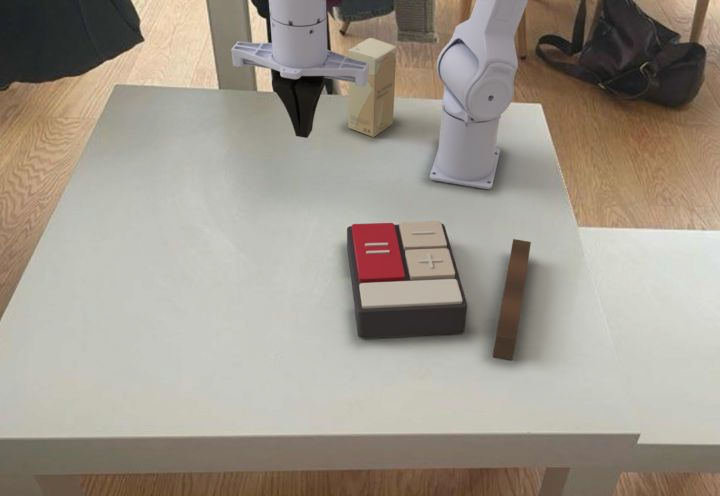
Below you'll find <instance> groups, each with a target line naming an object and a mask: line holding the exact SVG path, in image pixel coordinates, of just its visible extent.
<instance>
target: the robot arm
mask: <svg viewBox="0 0 720 496" xmlns="http://www.w3.org/2000/svg"><path fill="white" fill-rule="evenodd" d="M528 1H529V0H475V2H474V6H473V9H472V12H471V15H470V17H469V19H468V18H467V20H465V21H462V22H461V23H459V24H458V25H456V26H455V28H454V31H453V33H452V37H451V38H450V40H449V41H448V42H447V44H446V45H445V46H444V47H443V48H442V50H441V51H440V52H439V55H438V57H437V60H436V68H435V69H436V73H437V77H438V78H439V80H440V81H441V83H443V84H444V85H443V86H444V87H443V96H442V100H441V101H442V102H441V115H440V124H439V125H440V126H439V139H438V149H437V152H436V154H435V155H436V156H435V158H434V161H433V163H432V167H431V170H430V174H429V179H430V180H431V181H436V182H441V183H448V184H452V185H453V184H454V185H461V186H466V187H473V188H479V189H484V190H491V189H492V188H493V185H494V180H495V175H496V171H497V166H498V162H499V159H500V155H501V154H500V153H501V149H500V148H499V147H497V140H498V134H499V133H498V132H499V125H500V120H501V116H502V114H504V113H505V111H507V109H508V108H509V106H510V105H511V103H512V101H513V99H514V94H515V83H514V82H515V76H516V73H517V70H518V68H519V61H518V55H517V50H516V44H515V35H516V34H517V31H518V27H519V25H520V23H521V20H522V17H523V16H524V15H523V14H524V12H525V10H526V8H527V5H528ZM268 8H269V9H268V10H269V21H270V34H271V42H247V41H246V42H245V41H239V40H238V41H237V42H236V43H235V44H234V45H233V47H231V49H230V51H231V58H232V66H233V67H238V68H243V67H244V66H250V67H256V68H263V69H267V70H269V69H270V70H274V76H273V78H272V79H271V86H272V89H273V91H274V92H275V94H277V96H278V98H279V99H280V101H281V103H282V104H283V106H284V108H285V110H286V112H287V115H288V116H289V119H290V122H291V125H292V127H293V131H294V134H295V136H296V137H299V138H305V139H308V138H309V136H310V135H311V133H312V131H313V126H314V119H315V115H316V111H317V108H318V104H319V100H320V98H321V95H322V93H323V90H324V88H325V85H326V83H327V81H328V79H329V80H335V81H342V82H348V83H349V82H353V83H355V85H356V86H359V87H365V85H366V84H367V82H368V80H369V63H368V62H363V61H359V60H355V59H352V58H349V56H346V55H343V54H341V53H338V52H335V51H332V50H329V49H328V18H327V0H268Z"/></svg>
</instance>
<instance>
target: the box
mask: <svg viewBox="0 0 720 496" xmlns="http://www.w3.org/2000/svg"><path fill="white" fill-rule="evenodd" d="M348 57H349V58H352V59H355V60H359V61H363V62H368V63H369V80H368V82H367V84H366V85H365V87H359V86H356V85H355V83H353V82H348V91H347V92H348V105H347V106H348V113H347V114H348V115H347V116H348V125H347V128H348V129H351V130H354V131H355V132H358V133H361V134H364V135H366V136H369V137H372V138H375V137H376V136H378V135H379V134H381V133H382V132H383V131H385V130H386V129H388V128H389V127H390V126H391V125H392V124H393V123H394V108H395V89H396V87H395V86H396V85H395V83H396V65H397V61H396V60H397V46H396V45H394V44H391V43H388V42H386V41H382V40H379V39H377V38H373V37H368V38H366V39H365V40H363V41H361V42H359V43H357V44H356V45H354V46H352V47H350V48H349V49H348Z"/></svg>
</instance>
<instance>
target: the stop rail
mask: <svg viewBox="0 0 720 496" xmlns="http://www.w3.org/2000/svg"><path fill="white" fill-rule="evenodd" d="M531 243H532V242H531V241H528V240H522V239H515V238H513V239H512V243H511V249H510V255H509V260H508V268H507V273H506V278H505V282H504V289H503V295H502V300H501V305H500V310H499V317H498V323H497V329H496V334H495V338H494V339H495V340H494V344H493V345H494V346H493V350H492V351H493V352H492V357H493V358H497V359H502V360H507V361H508V360H509V361H513V359H514V358H513V357H514V352H515V348H516V342H517V337H518V331H519V323H520V317H521V310H522V304H523V299H524V298H523V297H524V291H525V285H526V284H525V283H526V277H527V271H528V264H529V258H530V250H531Z"/></svg>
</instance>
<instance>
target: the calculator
mask: <svg viewBox="0 0 720 496" xmlns="http://www.w3.org/2000/svg"><path fill="white" fill-rule="evenodd" d="M346 251H347V257H348V266H349V267H348V268H349V273H350V282H351V289H352V295H353V296H352V297H353V306H354V317H355V318H354V319H355V325H356V332H357V333H356V334H357V337H358V338H360V339H371V338H372V339H373V338H390V337H409V336H427V335H428V336H429V335H443V334H461V333H463V332H465V328H466V319H467V313H468V312H467V311H468V302H467V299H466V295H465V291H464V288H463V285H462V281H461V278H460V274H459V270H458V268H457V264H456V261H455V258H454V253H453V250H452V246H451V243H450V240H449V236H448V233H447V228H446V226H445V224H444V223H443V222H441V221H440V220H439V221H438V220H434V221H433V220H432V221H407V222H399V224H394V222H375V223H373V222H372V223H353V224H351V225H349V226H347V228H346Z"/></svg>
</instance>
